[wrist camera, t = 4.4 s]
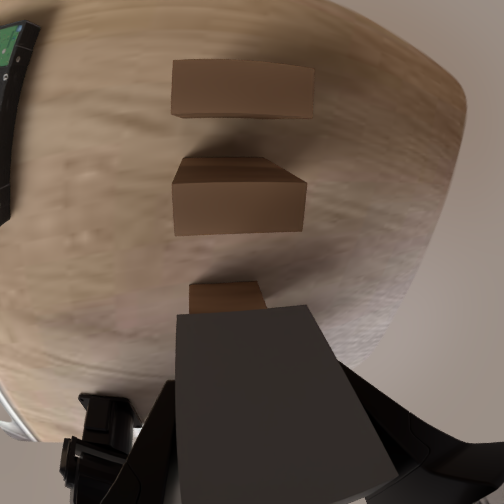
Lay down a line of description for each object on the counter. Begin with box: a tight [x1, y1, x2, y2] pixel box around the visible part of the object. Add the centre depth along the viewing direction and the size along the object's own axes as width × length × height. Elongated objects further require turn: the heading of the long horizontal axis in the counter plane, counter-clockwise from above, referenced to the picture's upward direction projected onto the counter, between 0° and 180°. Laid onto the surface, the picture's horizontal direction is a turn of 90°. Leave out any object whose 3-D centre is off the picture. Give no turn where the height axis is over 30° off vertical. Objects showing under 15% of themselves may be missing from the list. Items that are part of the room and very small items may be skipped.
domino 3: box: [189, 281, 267, 314], centre depth 17 cm, size 2×5×8 cm, turn 88°
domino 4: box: [175, 305, 399, 504], centre depth 7 cm, size 2×5×8 cm, turn 88°
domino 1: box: [171, 59, 315, 119], centre depth 12 cm, size 2×5×8 cm, turn 88°
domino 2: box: [172, 157, 307, 236], centre depth 14 cm, size 2×5×8 cm, turn 88°
